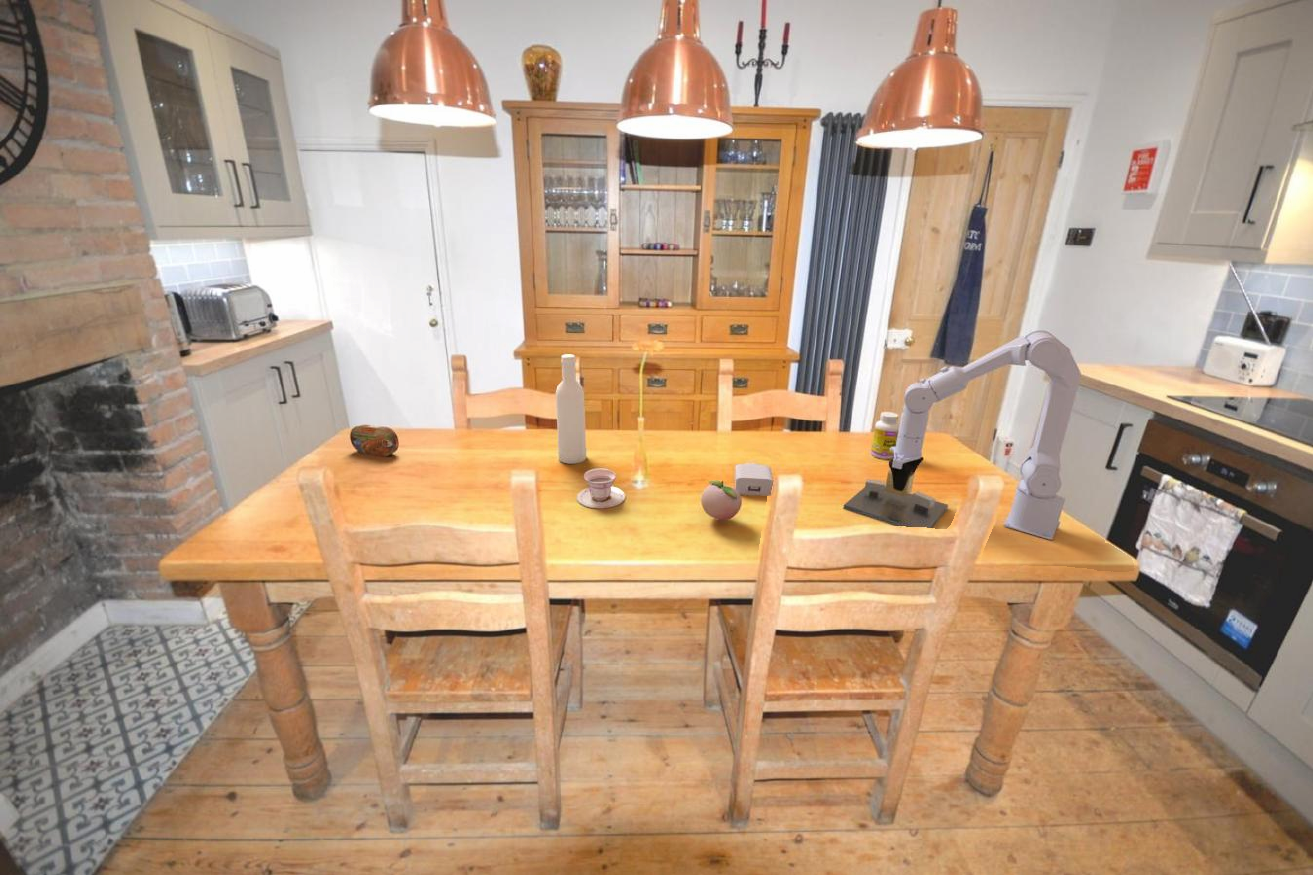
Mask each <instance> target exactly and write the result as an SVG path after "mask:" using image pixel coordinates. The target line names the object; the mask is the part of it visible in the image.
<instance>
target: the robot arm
mask: <svg viewBox="0 0 1313 875" xmlns="http://www.w3.org/2000/svg"><path fill="white" fill-rule="evenodd" d="M1026 361H1028V362H1029V363H1030V364H1031V365H1032V366H1034V367H1035V368H1037V369H1039V370H1041V371H1044V373H1045V374H1046V375H1047V376H1048V377H1049V378H1050V379H1049V381H1048V386H1047V391H1046V395H1045V399H1044V402H1043V406H1042V410H1041V414H1040V419H1039V422H1038V427H1037V430H1036V434H1035V439H1034V441H1033V446H1032V447H1031V449H1030V450H1029V451H1028V455H1027V457H1026V458H1025V459H1024V460H1023V461H1022V462H1021V464H1020V468H1019V471H1020V474H1021V476H1022V479H1021V481H1020V482H1018V483H1017V487H1016V491H1015V494H1014V499H1013V501H1012V505H1011V509H1010V512H1009V514H1008V515H1007V517H1006V519H1005V521H1004V522H1003V526H1004V527H1005V528H1009V529H1012V530H1016V531H1019V532H1023V533H1026V534H1030V535H1032V536H1035V537H1039V538H1043V539H1046V540H1050V541H1052V540H1053V538H1054V536H1055V533H1056V531H1057V530H1059V527H1060V525H1061V521H1060V518H1061V515H1062V511H1063V508H1064V505H1065V501H1066V497H1063V496H1060V495H1058V494H1057V493H1059V491H1060V490H1061V487H1062V479H1061V476H1060V472H1061V451H1062V447H1063V444H1064V440H1065V437H1066V432H1067V429H1068V425H1069V421H1070V417H1071V415H1072V410H1073V406H1074V403H1075V400H1076V399H1075V398H1076V395H1077V391H1078V387H1079V385H1080V384H1079V383H1080V380H1081V377H1082V376H1081V375H1082V374H1081V369H1079V367H1078V364H1077V362H1076V361H1075V358H1074V357H1073V354H1072V351H1071V349H1070V348H1069V347H1068V346H1067V345H1066V344H1064V343H1063V342H1062V341H1060V340H1059V339H1058V338H1057V337H1056V336H1054V335H1053V334H1052V333H1051V332H1049V331H1046V330H1041V329H1040V330H1034V331H1032V332H1029V333H1028V334H1026V335H1024V336H1019V337H1016V338H1015V339H1013V340H1011V341H1009V342H1007V343H1005V344H1003V345H1001V346H999V347H997V349H996V348H995V349H994V350H992V351H991V352H988V353H987V354H985V355H983V356H981V357H980V358H977V359H976V360H974V361H972V362H970V363H968V364H966V365H964V366H963V367H959V366H954V365H952V366H950V367H948V366H944V367H942V368H941V369H940V371H941V372H938V373H937V374H934V375H932V376H931V377H928V378H925V377H924V378H921V379H920V380H919V382H914V383H912V384H910V385H908V387H907V388H906V390H905V392H904V393H903V396H904V405H903V407H902V413H901V416H900V421H899V431H898V437H897V442H896V447H891V448H890V451H891V452H894V457H893V458H891V459H889V462H888V467H889V469H890V470H891V472H892V478H893V488H894V489H895V490H899V491H903V489H904V488H905V485H906V482H907V480H908V477H909V475H910V473H911V472H914V473H916V471H917V469H918V467H919V466H920V464H921V463H922V462H923V461H924V457H923V453H922V450H923V447H924V446H923V445H924V441H925V436H926V430H927V425H928V422H929V421H928V420H929V417H928V414H929V410H930V409H931V408H932V407H933V404H934V403H939V402H940V401H942V400H945V399H947V398H949V397H952V396H953V395H956V394H957V393H960V392H962V391H964V390H966V389H967V387H968V384H969V382H970V381H972V380H974V379H976V378H979V377H981V376H984V375H986V374H989V373H991V372H993V371H996V370H999V369H1000V368H1003V367H1004V366H1007V365H1011V366H1012V365H1013V366H1020V367H1021V366H1022V367H1024V366H1025V367H1026V366H1027V363H1026Z"/></svg>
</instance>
